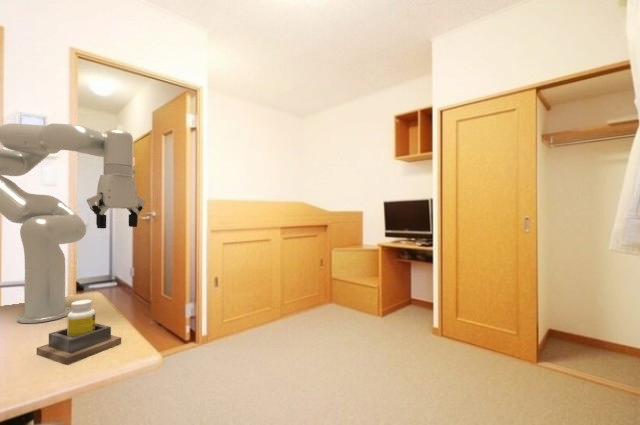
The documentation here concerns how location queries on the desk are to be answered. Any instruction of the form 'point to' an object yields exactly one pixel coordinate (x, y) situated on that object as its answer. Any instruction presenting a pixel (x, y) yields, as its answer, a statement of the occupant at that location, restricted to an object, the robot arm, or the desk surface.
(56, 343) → the socket stand
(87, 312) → the supplement bottle
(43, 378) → the desk surface
